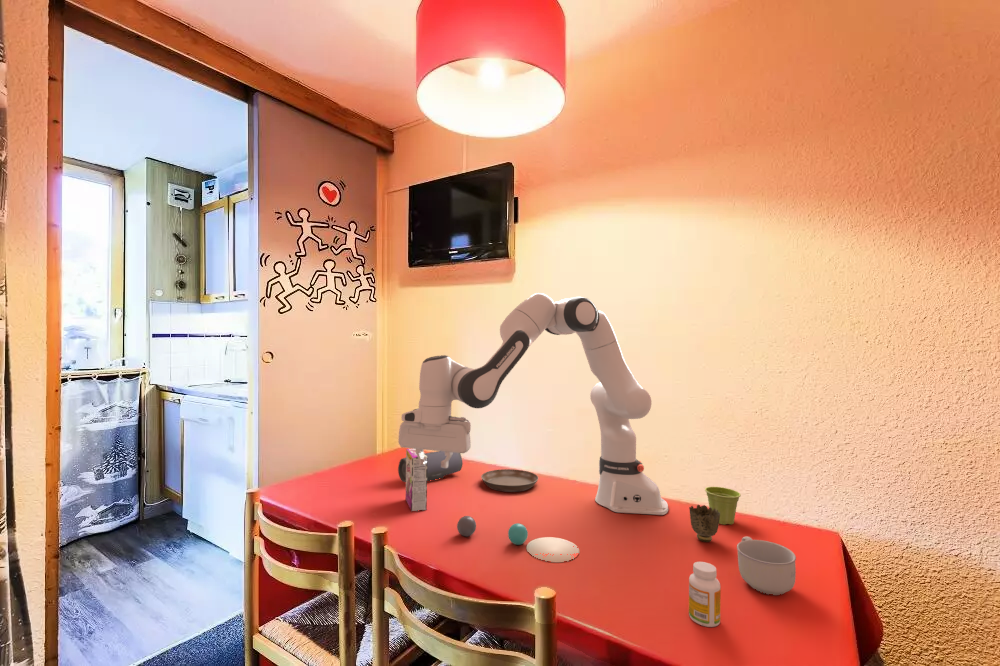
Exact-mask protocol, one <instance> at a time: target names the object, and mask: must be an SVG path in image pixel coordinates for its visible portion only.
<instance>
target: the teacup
mask: <svg viewBox="0 0 1000 666" xmlns="http://www.w3.org/2000/svg"><path fill="white" fill-rule="evenodd" d="M736 551H737V564H738V571H739V574H740V576H741V578H742V579H743V580H744V582H745V583H746V584H748V585H749V586H750V587H751V588H752V589H754V590H755V589H756V591H758V592H759V591H760V593H762V592H763V593H762V594H765V593H766V595H769V594H773V595H772V596H779V595H780V594H781V595H783V594H785V593H787V592H790V591H791V590H793V588H794V587H795V584H796V577H797V576H796V573H797V572H796V569H797V568H796V561H797V557H796V554H795V553H794V552H793V550H791V549H789V548H788V547H786V546H784V545H782V544H779V543H776V542H773V541H772V542H771V541H768V540H763V539H753V538H752V537H751V536H742V538H741V541H739V542H738V543H737V545H736Z"/></svg>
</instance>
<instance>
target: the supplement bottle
mask: <svg viewBox="0 0 1000 666" xmlns="http://www.w3.org/2000/svg"><path fill="white" fill-rule="evenodd" d="M692 572H693V573H691V574H690V575H689V578H688V616H689V618H690V619H691V620H692V621H693V622H694V623H696V624H698V625H701V626H702V627H706V628H715V627H717V626H719V625H720V624H721V591H722V590H721V588H722V587H721V583H720V581H719V579H718V578H717V567H716V566H715V565H714V564H711V563H710V562H705V561H696V562H694V563H693V565H692Z"/></svg>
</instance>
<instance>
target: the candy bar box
mask: <svg viewBox="0 0 1000 666" xmlns="http://www.w3.org/2000/svg"><path fill="white" fill-rule="evenodd" d="M422 453H423V456H424V458H428V457H427V456H426V454H425V453H426V452H425V451H423V452H422ZM405 458H406V482H405V501H406V503H407V505H408V508H409V509H410V511H411V512H412V511H416V512H419V511H418V510H422V511H427V510H428V509H427V508H428V506H427V505H428V503H427V501H428V497H427V496H428V482H427V464H426V465H425V466H422V465H419V458H418V456H417V454H416V449H415V448H406V449H405ZM426 462H427V461H426Z"/></svg>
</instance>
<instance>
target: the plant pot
mask: <svg viewBox="0 0 1000 666" xmlns="http://www.w3.org/2000/svg"><path fill="white" fill-rule="evenodd" d="M704 491H705V493H706V496H707V501H708V509H709V508H710V507H711V508H712V511H713V509H716V511H717V510H718V512H720V519H719V524H720V525H724V526H725V525H733V524H735V519H736V511H737V506H738V503H739V499H740V497H741V493H740V492H739V491H737V490H735V489H732V488H727V487H722V486H706V487H705V488H704Z"/></svg>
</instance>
